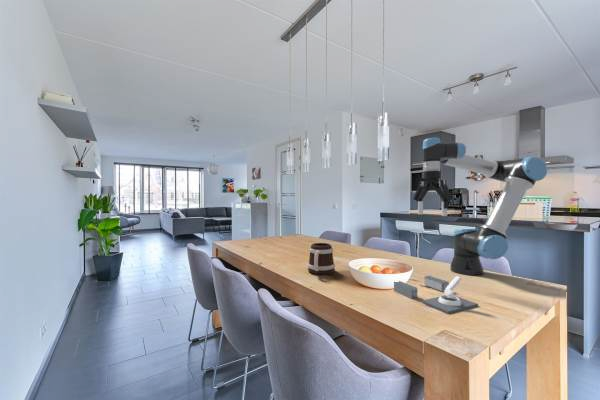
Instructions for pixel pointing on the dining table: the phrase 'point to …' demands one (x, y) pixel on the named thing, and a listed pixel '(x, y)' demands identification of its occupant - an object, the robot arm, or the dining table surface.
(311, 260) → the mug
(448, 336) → the dining table surface
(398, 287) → the grey blocks
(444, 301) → the hook
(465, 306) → the mat
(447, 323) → the dining table surface
